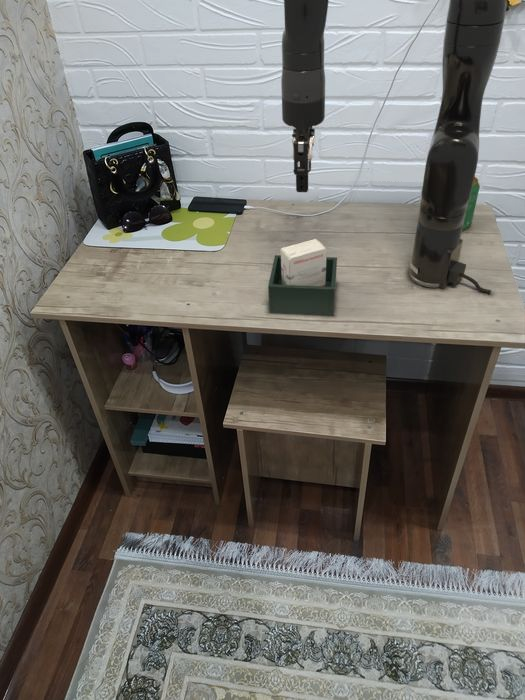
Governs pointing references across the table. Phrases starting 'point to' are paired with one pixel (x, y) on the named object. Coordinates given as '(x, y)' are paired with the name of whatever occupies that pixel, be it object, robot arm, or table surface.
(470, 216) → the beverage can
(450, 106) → the robot arm
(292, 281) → the ink box
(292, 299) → the bin
